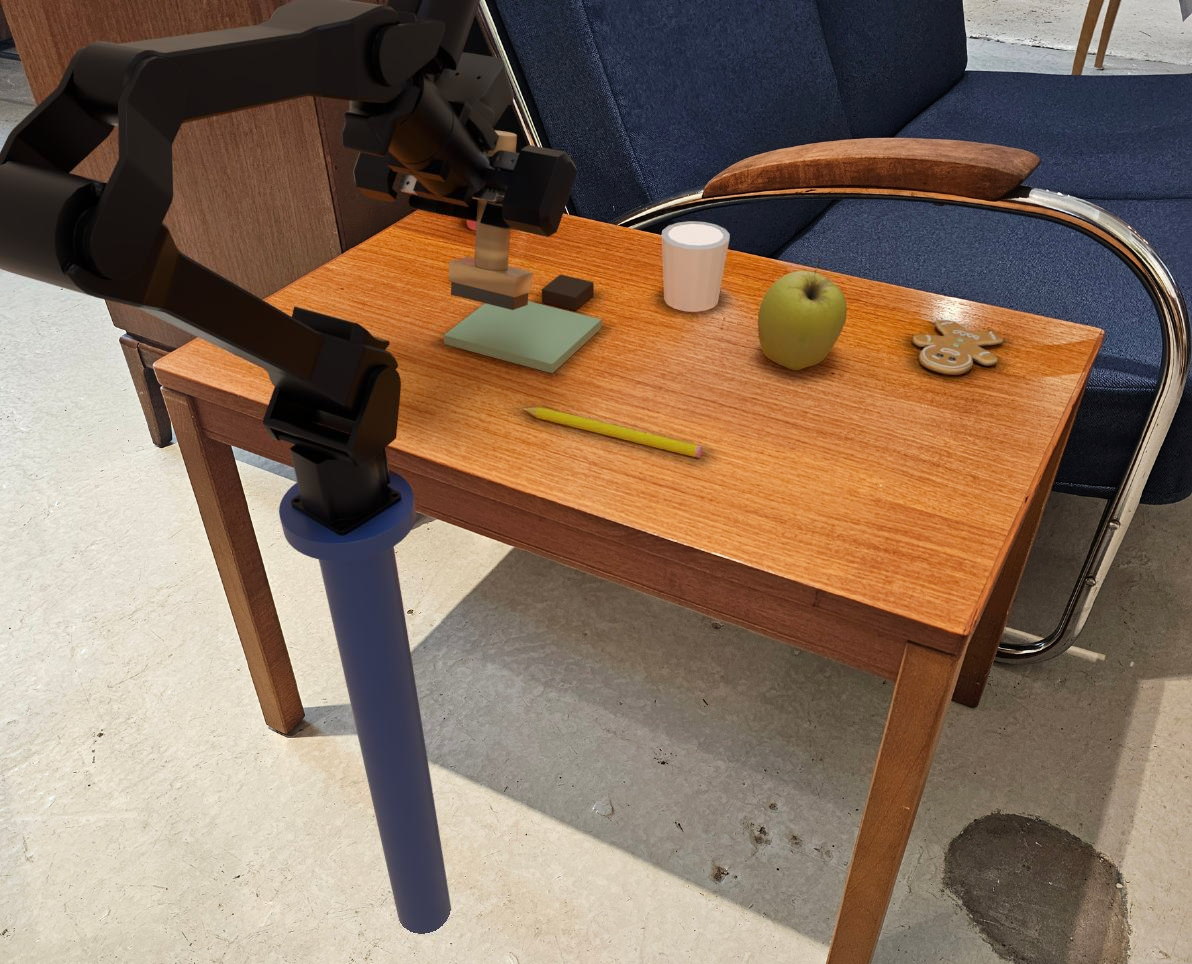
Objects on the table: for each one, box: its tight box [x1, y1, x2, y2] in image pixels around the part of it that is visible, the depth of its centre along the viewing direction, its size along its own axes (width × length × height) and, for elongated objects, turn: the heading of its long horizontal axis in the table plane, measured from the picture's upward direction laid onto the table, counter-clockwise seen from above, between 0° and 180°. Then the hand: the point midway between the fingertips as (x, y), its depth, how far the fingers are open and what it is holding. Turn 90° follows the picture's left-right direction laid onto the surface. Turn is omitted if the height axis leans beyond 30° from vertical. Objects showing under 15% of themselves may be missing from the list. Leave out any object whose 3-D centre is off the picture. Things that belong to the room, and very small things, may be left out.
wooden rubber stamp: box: [447, 129, 534, 310], centre depth 92 cm, size 3×7×14 cm, turn 63°
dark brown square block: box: [541, 274, 595, 312], centre depth 109 cm, size 4×4×2 cm
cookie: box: [912, 319, 1005, 376], centre depth 101 cm, size 8×1×10 cm
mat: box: [443, 300, 603, 374], centre depth 103 cm, size 10×12×1 cm
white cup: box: [660, 220, 731, 313], centre depth 107 cm, size 7×7×7 cm
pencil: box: [523, 406, 703, 459], centre depth 90 cm, size 16×1×1 cm, turn 66°
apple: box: [757, 260, 848, 371], centre depth 97 cm, size 8×8×10 cm
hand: (503, 221), depth 93 cm, fingers closed on wooden rubber stamp, 3 cm apart
